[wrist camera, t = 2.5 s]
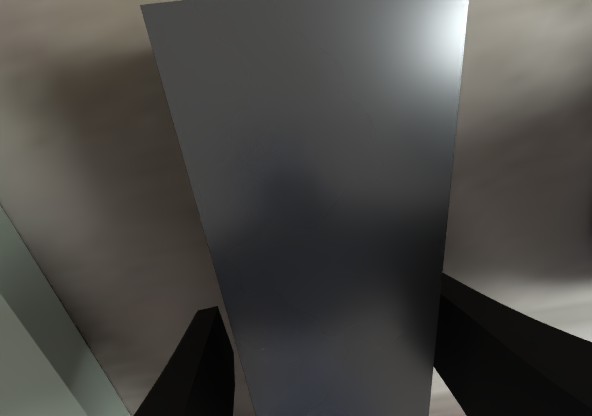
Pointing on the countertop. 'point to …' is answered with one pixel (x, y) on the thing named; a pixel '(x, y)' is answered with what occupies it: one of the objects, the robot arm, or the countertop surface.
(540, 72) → the countertop surface
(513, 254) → the countertop surface
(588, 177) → the countertop surface
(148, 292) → the countertop surface
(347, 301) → the steel bar
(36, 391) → the peg rack
